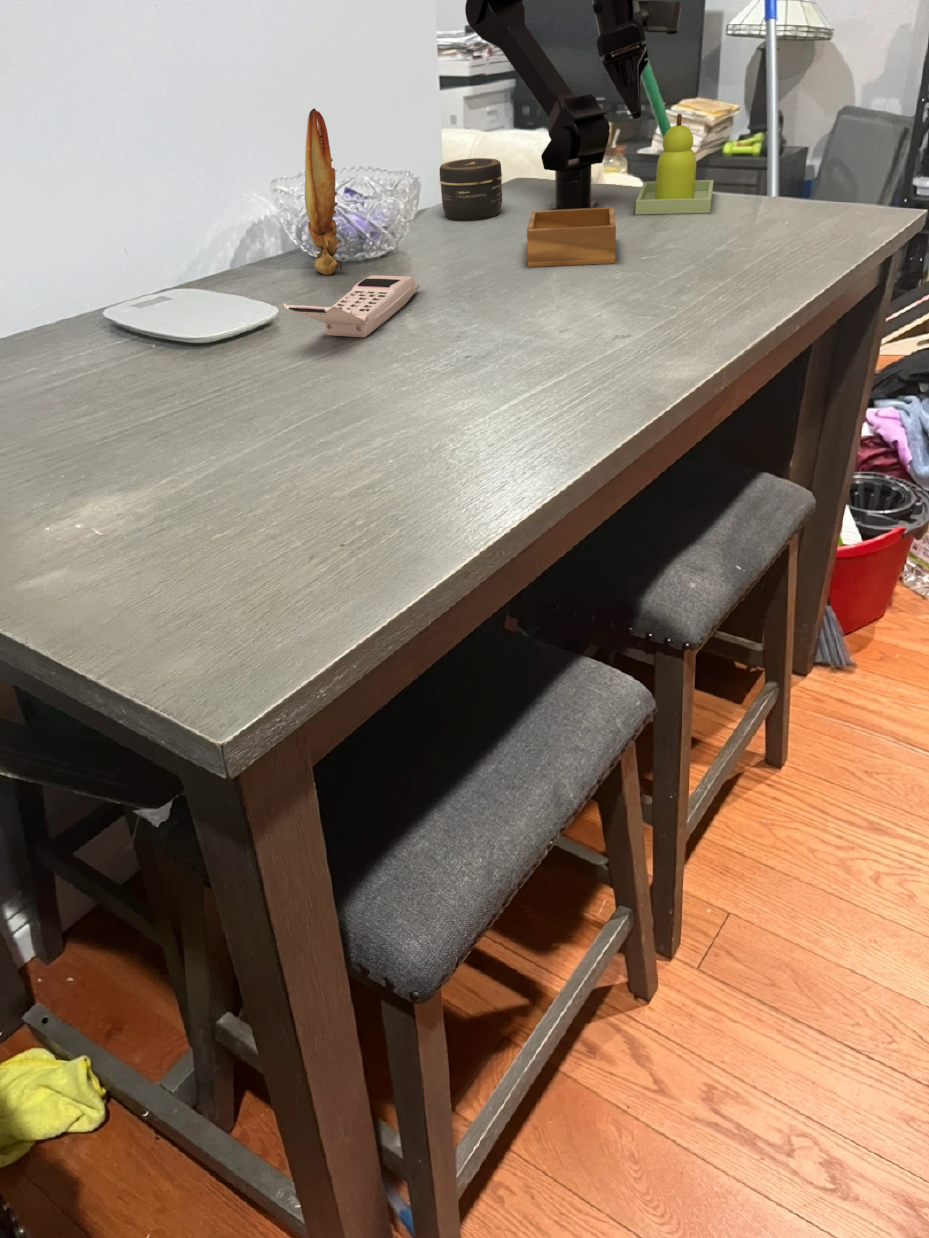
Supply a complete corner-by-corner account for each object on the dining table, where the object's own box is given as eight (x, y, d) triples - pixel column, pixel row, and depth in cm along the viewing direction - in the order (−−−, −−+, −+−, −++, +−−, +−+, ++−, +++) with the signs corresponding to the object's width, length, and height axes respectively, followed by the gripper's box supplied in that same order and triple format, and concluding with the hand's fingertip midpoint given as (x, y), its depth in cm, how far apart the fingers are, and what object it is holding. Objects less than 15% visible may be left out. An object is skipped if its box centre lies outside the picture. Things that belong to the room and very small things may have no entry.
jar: (506, 206, 151) (504, 156, 147) (500, 220, 143) (497, 167, 139) (448, 209, 153) (444, 159, 148) (438, 223, 145) (433, 171, 140)
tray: (643, 195, 151) (643, 182, 150) (712, 193, 148) (713, 180, 147) (635, 214, 140) (635, 200, 139) (709, 213, 137) (710, 199, 136)
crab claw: (333, 283, 120) (307, 112, 109) (299, 282, 122) (269, 114, 110) (355, 269, 125) (333, 104, 114) (322, 268, 127) (297, 106, 115)
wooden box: (531, 245, 129) (531, 211, 126) (612, 241, 128) (613, 206, 125) (527, 267, 120) (526, 230, 117) (615, 263, 118) (615, 226, 116)
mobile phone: (279, 305, 93) (376, 241, 112) (289, 361, 97) (381, 290, 115) (332, 308, 91) (421, 243, 110) (340, 364, 95) (425, 292, 114)
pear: (653, 205, 142) (657, 117, 135) (657, 196, 147) (661, 111, 140) (692, 204, 141) (698, 115, 134) (695, 195, 146) (701, 110, 139)
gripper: (671, -48, 114) (694, 88, 119) (671, -15, 131) (692, 103, 136) (584, -14, 117) (611, 117, 123) (595, 14, 134) (618, 128, 139)
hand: (636, 115), depth 130 cm, fingers open, 9 cm apart
